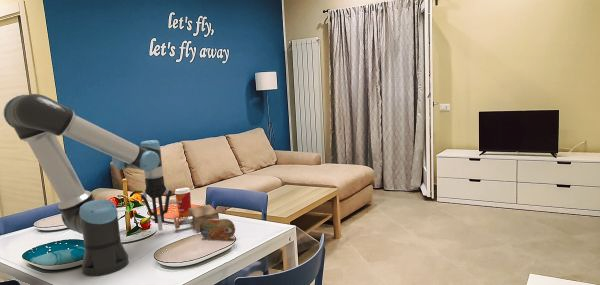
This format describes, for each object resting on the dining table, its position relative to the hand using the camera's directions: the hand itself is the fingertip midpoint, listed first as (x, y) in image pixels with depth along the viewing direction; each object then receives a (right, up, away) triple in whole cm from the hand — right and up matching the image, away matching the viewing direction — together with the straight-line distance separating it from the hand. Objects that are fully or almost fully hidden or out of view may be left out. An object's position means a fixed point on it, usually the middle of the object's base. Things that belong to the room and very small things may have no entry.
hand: (160, 229), depth 178 cm
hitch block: (+17, 0, +8) cm, 19 cm away
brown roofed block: (+12, +1, +6) cm, 13 cm away
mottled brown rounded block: (+27, -2, -10) cm, 29 cm away
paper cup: (+4, +1, +23) cm, 24 cm away
